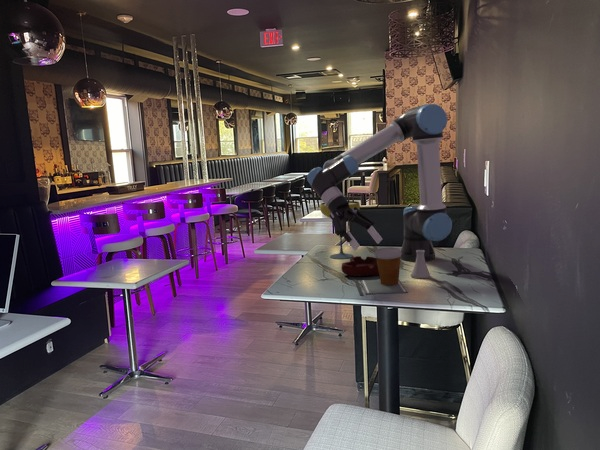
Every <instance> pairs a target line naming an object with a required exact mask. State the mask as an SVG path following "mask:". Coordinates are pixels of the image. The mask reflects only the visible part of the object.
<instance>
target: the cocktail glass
mask: <svg viewBox="0 0 600 450" xmlns="http://www.w3.org/2000/svg"><path fill="white" fill-rule="evenodd" d="M347 201H348V202H349V207H350V208H351V209H354V207H356V208H357V209H358V210H359V211H361V204H360V202H359V201H356V200H355V201H354V200H353V201H352V200H347ZM319 208H320V212H321V213H322V215H324V216H325V217H328V218H329V219H331V217H330V215H331V211H330V210H329V209H328V207H327V206H326V205H325V203H324V202H321V203H320V206H319ZM339 239H340V241H339V243H340V248H339V249H340V250H339V252H338V253H334V254H331V255H329V258H330V259H334V260H347V259H350V258H353V257H354V255H353V254H352V253H344V251H343V249H344V248H343V237H342V238H341V237H340V236H339Z"/></svg>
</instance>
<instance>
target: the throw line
mask: <svg viewBox="0 0 600 450" xmlns="http://www.w3.org/2000/svg"><path fill="white" fill-rule="evenodd" d="M354 283H355V285H356V288H357V291H358V295H359V297H364V293H363V290H362V287H361V285H360V282H359V279H355V280H354Z"/></svg>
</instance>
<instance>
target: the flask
mask: <svg viewBox="0 0 600 450" xmlns="http://www.w3.org/2000/svg"><path fill="white" fill-rule="evenodd" d="M416 252H417V258H416V261H414V262H415V263H414V265H413V268H412V272H411V274H410V277H411V278H413V279H414V278H415V279H428V278H430V277H431V273H430V271H429V268H428V265H427V263H426V262H427V261H425V258H424V252H425V251H424V250H416Z"/></svg>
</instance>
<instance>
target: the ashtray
mask: <svg viewBox="0 0 600 450" xmlns="http://www.w3.org/2000/svg"><path fill="white" fill-rule="evenodd" d="M349 259H350V260H349V261H347V262H343V263H341V272H342V273H343V274H344V275H346V276H347V277H349V278H350V277H360V276H361V277H363V276H379V271H378V265H377V260H376V257H375V256H366V258H365V259H363V258H362V256H359V255H357V256H353V257H352V258H349Z"/></svg>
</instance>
